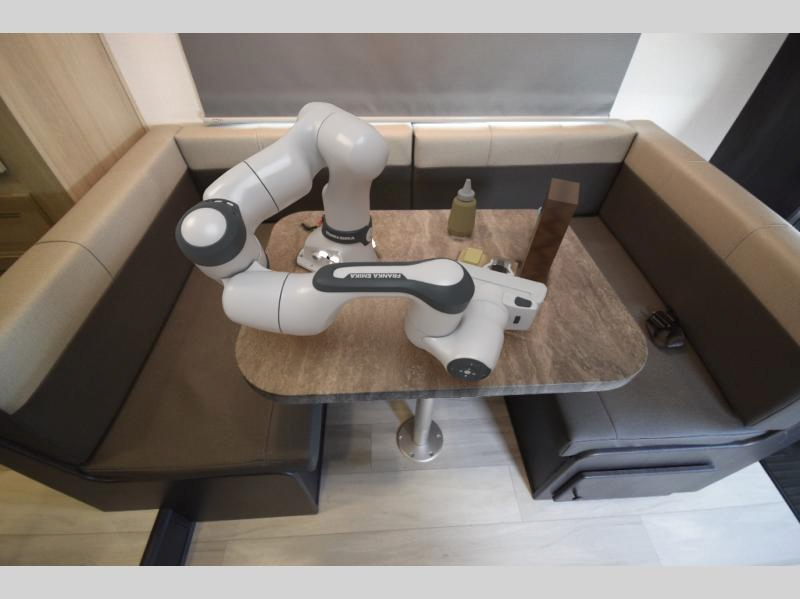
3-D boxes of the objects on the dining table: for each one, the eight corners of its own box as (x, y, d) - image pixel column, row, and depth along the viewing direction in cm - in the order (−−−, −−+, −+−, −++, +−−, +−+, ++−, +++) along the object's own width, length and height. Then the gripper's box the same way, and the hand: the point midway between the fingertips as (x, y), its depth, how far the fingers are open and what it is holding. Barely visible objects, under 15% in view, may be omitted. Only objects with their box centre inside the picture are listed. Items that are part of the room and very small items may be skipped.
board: (448, 280, 93) (449, 276, 92) (461, 252, 102) (462, 248, 101) (509, 297, 90) (510, 293, 88) (517, 267, 98) (518, 262, 97)
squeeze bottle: (471, 244, 105) (483, 188, 92) (444, 240, 106) (452, 185, 93) (473, 229, 110) (484, 174, 98) (447, 225, 111) (455, 171, 99)
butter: (461, 268, 95) (463, 259, 93) (466, 255, 99) (468, 247, 97) (475, 272, 94) (477, 263, 92) (480, 259, 98) (482, 250, 96)
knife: (487, 269, 74) (489, 262, 74) (492, 258, 91) (494, 252, 90) (508, 274, 73) (510, 267, 73) (510, 263, 90) (512, 257, 89)
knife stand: (511, 288, 92) (542, 199, 73) (518, 261, 100) (548, 174, 81) (542, 297, 90) (582, 207, 71) (547, 269, 98) (584, 181, 79)
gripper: (434, 302, 72) (452, 262, 81) (535, 332, 68) (543, 286, 77) (437, 280, 68) (456, 240, 77) (546, 311, 63) (552, 264, 72)
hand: (500, 263), depth 77 cm, fingers closed on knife, 1 cm apart
